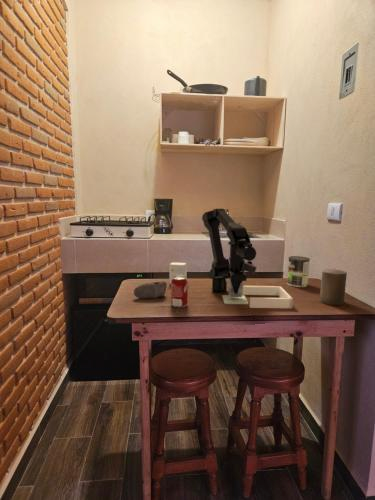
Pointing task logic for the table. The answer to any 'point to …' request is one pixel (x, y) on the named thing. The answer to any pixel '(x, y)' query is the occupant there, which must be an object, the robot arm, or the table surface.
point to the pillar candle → (333, 286)
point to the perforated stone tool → (151, 290)
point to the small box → (177, 270)
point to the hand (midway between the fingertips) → (235, 291)
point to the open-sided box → (281, 302)
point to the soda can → (179, 291)
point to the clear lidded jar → (298, 271)
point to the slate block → (231, 291)
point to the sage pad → (234, 300)
